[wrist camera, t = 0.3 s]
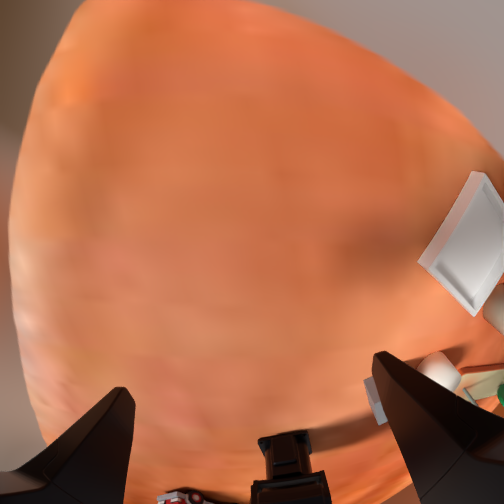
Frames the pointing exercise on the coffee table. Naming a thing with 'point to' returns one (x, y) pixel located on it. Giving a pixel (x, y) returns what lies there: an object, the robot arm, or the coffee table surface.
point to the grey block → (374, 400)
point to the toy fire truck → (182, 498)
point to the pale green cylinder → (495, 308)
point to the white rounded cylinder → (440, 370)
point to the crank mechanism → (481, 383)
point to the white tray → (469, 244)
